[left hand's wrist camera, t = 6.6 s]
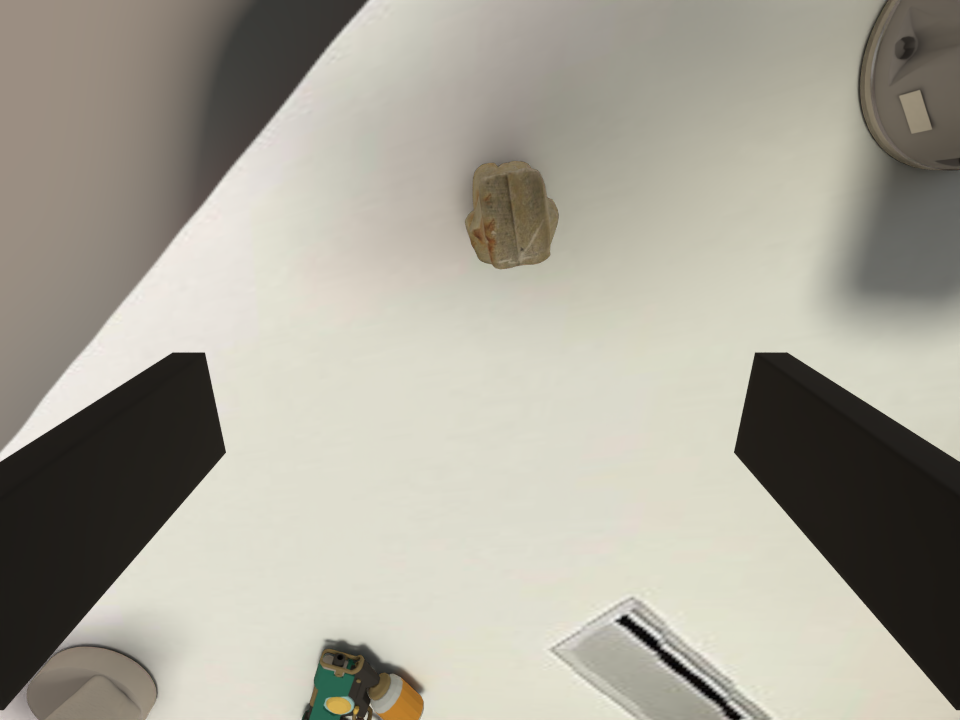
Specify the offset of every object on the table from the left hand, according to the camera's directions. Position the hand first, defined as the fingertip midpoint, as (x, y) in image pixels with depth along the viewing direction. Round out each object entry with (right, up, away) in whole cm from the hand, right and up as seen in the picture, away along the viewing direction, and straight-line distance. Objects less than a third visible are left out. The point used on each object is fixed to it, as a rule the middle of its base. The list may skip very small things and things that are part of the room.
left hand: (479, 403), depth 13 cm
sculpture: (+2, +13, +28) cm, 31 cm away
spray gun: (-15, -39, +49) cm, 64 cm away
